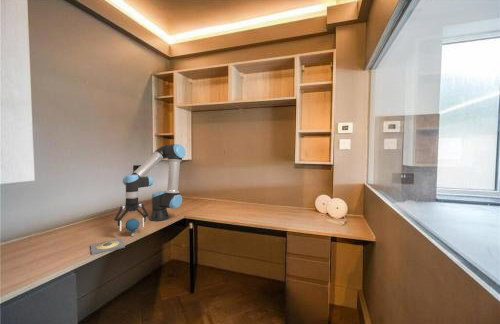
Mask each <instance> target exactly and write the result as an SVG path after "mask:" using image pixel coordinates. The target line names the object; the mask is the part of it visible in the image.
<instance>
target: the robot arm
mask: <svg viewBox="0 0 500 324" xmlns="http://www.w3.org/2000/svg"><path fill="white" fill-rule="evenodd" d="M185 156H186V149H185V147H184V146H183V145H182V144H177V143H175V144H174V143H173V144H164V145H161V146H160V147H158V148H157V149H155V151H154V152H153V153H152V155H151V156H150V157H149V158H148V159H146V161H144V162H143V163H142V164H141V165H140V166H138V168H137V169H135V170H134V171H133V172H132V173H131V174H127V175H124V176H123V178H122V183H123V185H124V186H125V205H120V206H119V209H118V211H117V213H116V214H115V217H114V221H115V222H117V227H119V232H122V219H123V218H124V217H125V216H126V214H128V212H129V213H131V212H135V211H136V212H138V213H139V214H140V215H141V227H142V228H144V227H145V223H146V221H147V219H146V218H147V217H148V216H149V213H148V212H147V210H146V208H145V207H144V203H139V189H141V188H148V187H152V185H153V184H154V179H153V177H152V176H150V175H149V176H148V175H147V174H148V173H149V172H150V171H151V170H152V169H154V167H155V166H156V165H157V164H159V162H162V161H163V160H165V159H167V161H168V162H169V164H168V175H167V178H168V179H167V190H166V191H157V192H153V193H152V195H151V213H150V216H149V221H152V222H162V221H165V220H168V219H169V218H170V215H169V212H168V209H173V210H175V209H178V208H180V206H182V202H183V196H182V195H181V194H180V191H179V181H180V180H179V179H180V167H181V162H182V161H183V159H184V158H185ZM139 207H140V208H141V209H142V211H143V212H144V213H143V212H142V211H141V210H140V209H139ZM123 210H124V211H123Z"/></svg>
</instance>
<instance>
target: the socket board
mask: <svg viewBox="0 0 500 324" xmlns="http://www.w3.org/2000/svg"><path fill="white" fill-rule="evenodd" d="M123 248H126V245H125V243H124V241H123V239H122V238H121V237H120V238H115V239H110V240H105V241H100V242H95V243H91V244H90V250H91V256H94V255H97V254H102V253H107V252H112V251H115V250H120V249H123Z"/></svg>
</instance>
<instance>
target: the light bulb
mask: <svg viewBox="0 0 500 324" xmlns="http://www.w3.org/2000/svg"><path fill="white" fill-rule="evenodd" d="M139 227H140V221H139V219H137V218H129V219H128V220H126V222H125V227H124V228H125V229H126V230H127V231H129V233H130V236H131V237H134V236H135V232H136V230H137V229H139Z"/></svg>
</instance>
